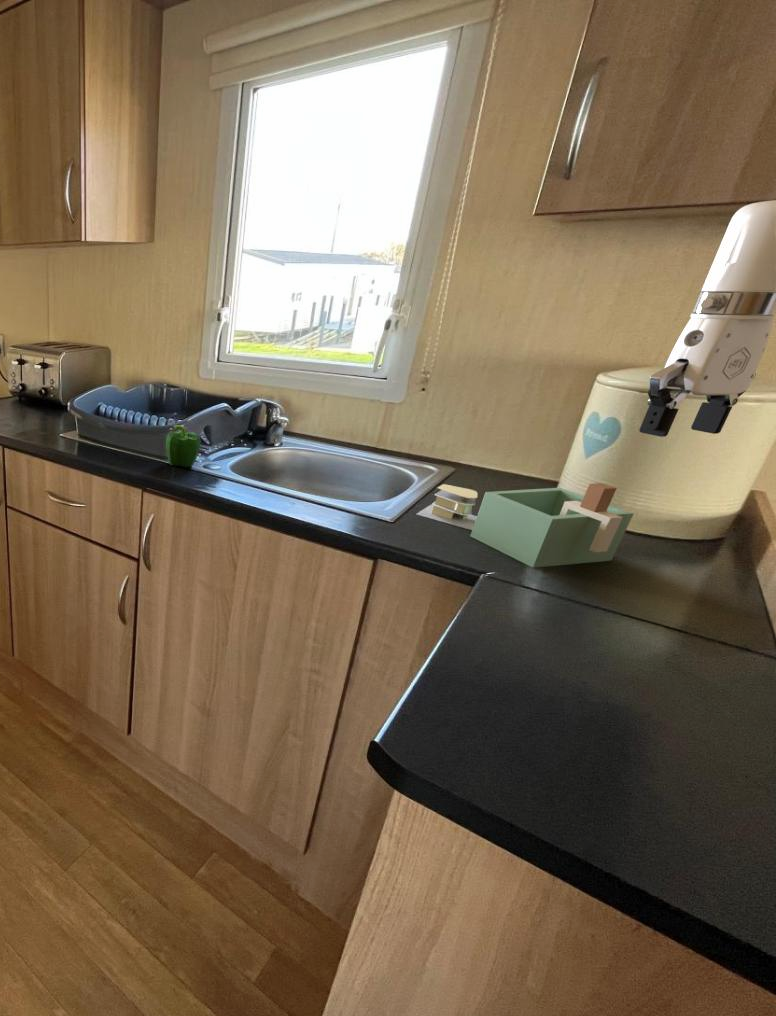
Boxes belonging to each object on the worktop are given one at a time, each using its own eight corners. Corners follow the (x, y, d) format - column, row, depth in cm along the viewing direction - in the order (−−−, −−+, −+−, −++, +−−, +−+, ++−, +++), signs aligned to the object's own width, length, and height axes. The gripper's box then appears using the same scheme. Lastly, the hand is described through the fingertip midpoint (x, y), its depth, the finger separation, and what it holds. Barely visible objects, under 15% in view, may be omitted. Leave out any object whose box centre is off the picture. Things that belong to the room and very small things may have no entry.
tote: (542, 530, 105) (559, 487, 101) (611, 560, 94) (634, 513, 90) (469, 536, 102) (485, 491, 98) (532, 567, 91) (552, 519, 87)
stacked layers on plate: (415, 514, 111) (423, 488, 109) (431, 504, 116) (439, 479, 114) (472, 530, 104) (481, 503, 102) (486, 518, 110) (495, 493, 107)
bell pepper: (200, 462, 140) (204, 423, 136) (194, 471, 133) (199, 431, 129) (168, 458, 143) (171, 420, 139) (161, 467, 136) (164, 427, 132)
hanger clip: (562, 532, 95) (585, 478, 91) (607, 551, 88) (634, 493, 84) (551, 533, 94) (574, 478, 90) (595, 552, 88) (621, 494, 84)
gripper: (720, 308, 68) (661, 442, 75) (822, 307, 71) (757, 436, 78) (651, 306, 75) (603, 429, 82) (747, 306, 78) (693, 424, 85)
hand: (678, 432), depth 80 cm, fingers open, 9 cm apart
